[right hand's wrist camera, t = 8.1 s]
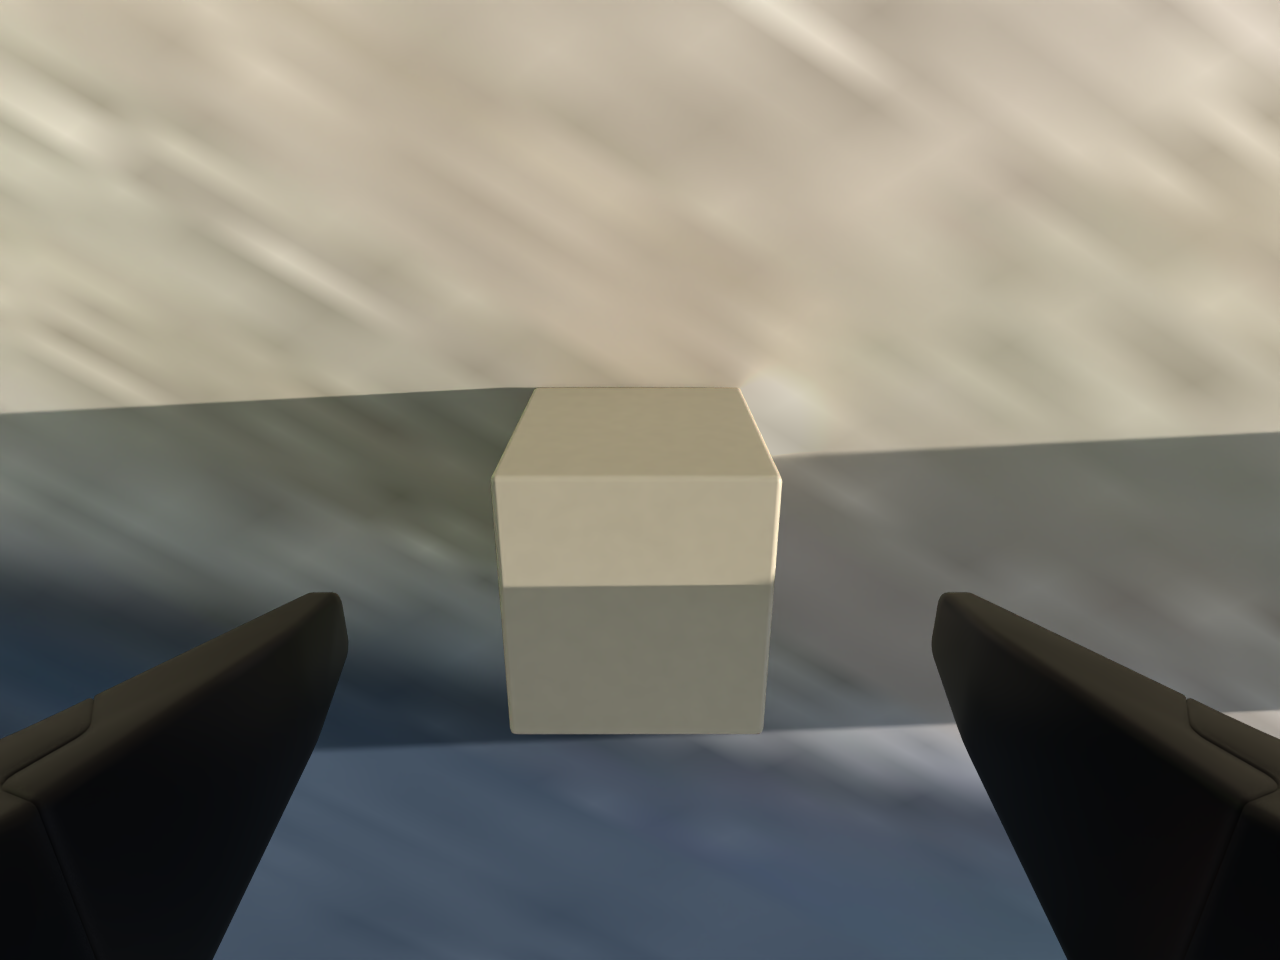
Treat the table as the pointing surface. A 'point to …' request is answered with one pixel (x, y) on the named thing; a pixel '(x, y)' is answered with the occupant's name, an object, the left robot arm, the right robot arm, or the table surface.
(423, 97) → the table surface
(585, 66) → the table surface
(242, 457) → the table surface
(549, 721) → the block
